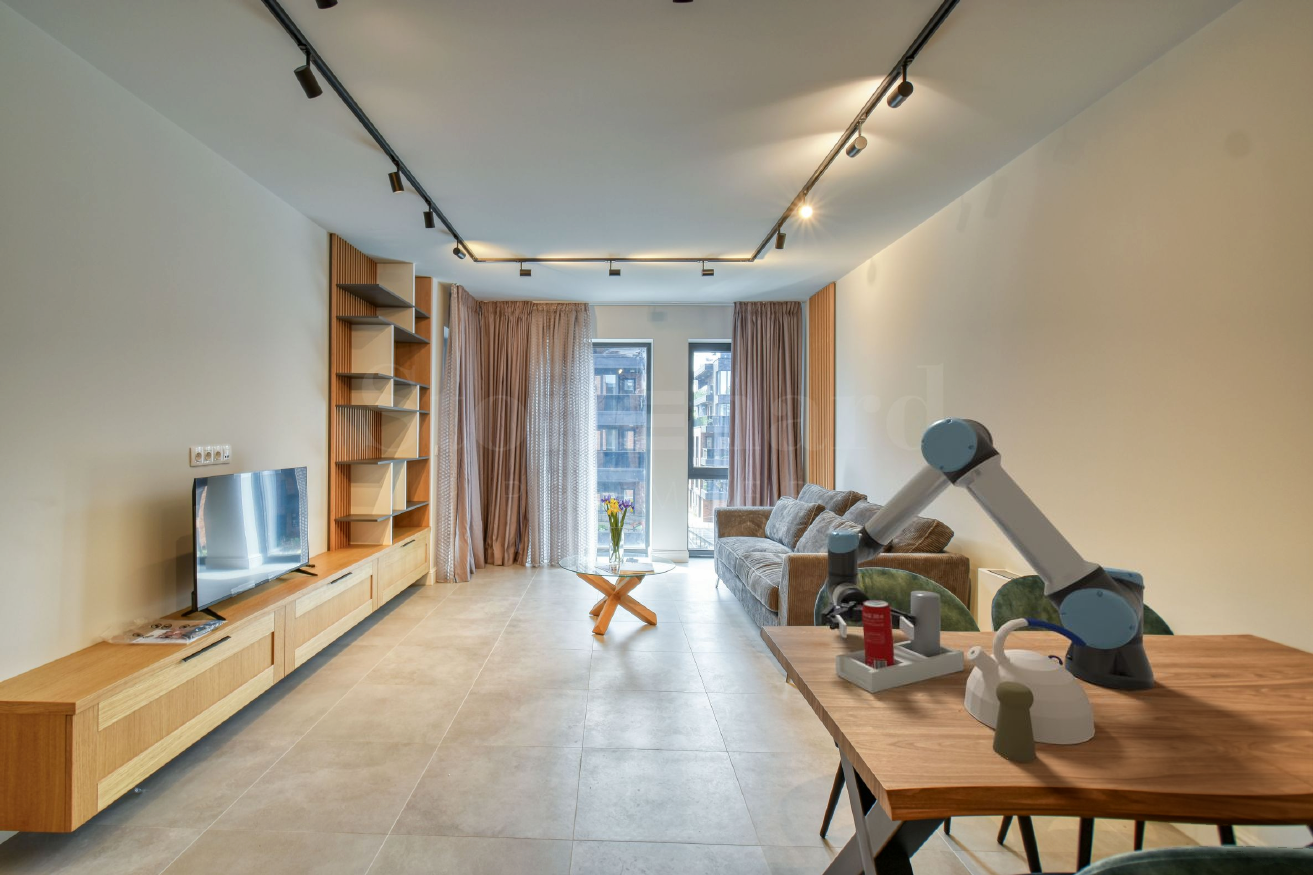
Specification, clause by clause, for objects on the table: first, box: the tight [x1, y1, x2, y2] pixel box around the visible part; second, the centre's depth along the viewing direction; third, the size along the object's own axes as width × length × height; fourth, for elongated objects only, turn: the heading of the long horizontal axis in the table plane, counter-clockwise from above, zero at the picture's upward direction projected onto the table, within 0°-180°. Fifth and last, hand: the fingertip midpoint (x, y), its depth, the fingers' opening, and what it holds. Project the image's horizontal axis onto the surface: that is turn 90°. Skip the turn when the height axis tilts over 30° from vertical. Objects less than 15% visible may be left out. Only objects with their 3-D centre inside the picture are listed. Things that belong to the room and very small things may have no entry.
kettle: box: [963, 617, 1096, 746], centre depth 108 cm, size 20×21×18 cm
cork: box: [992, 681, 1037, 763], centre depth 95 cm, size 6×6×11 cm
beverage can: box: [862, 599, 895, 669], centre depth 124 cm, size 6×6×15 cm
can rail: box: [835, 590, 965, 694], centre depth 127 cm, size 27×10×16 cm, turn 115°
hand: (878, 632), depth 121 cm, fingers open, 13 cm apart
